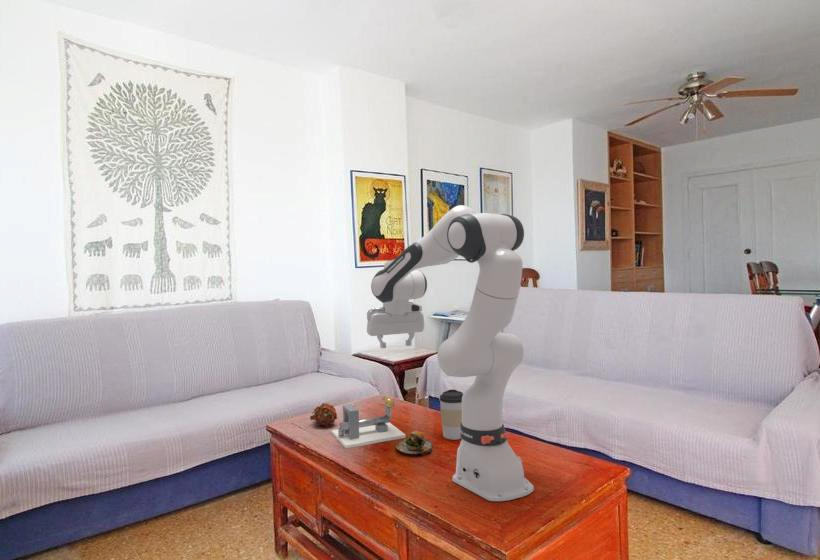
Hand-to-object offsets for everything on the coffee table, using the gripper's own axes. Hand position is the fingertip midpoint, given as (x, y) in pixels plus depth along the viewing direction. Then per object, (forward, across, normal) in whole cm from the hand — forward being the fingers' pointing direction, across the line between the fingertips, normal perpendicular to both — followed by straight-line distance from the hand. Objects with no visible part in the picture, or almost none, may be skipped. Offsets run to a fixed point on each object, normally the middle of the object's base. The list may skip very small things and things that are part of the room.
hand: (395, 346), depth 169 cm
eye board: (+30, -10, +2) cm, 32 cm away
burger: (+30, -1, -17) cm, 35 cm away
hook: (+28, -11, +2) cm, 30 cm away
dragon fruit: (+31, -20, +20) cm, 42 cm away
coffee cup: (+30, +16, -12) cm, 36 cm away
